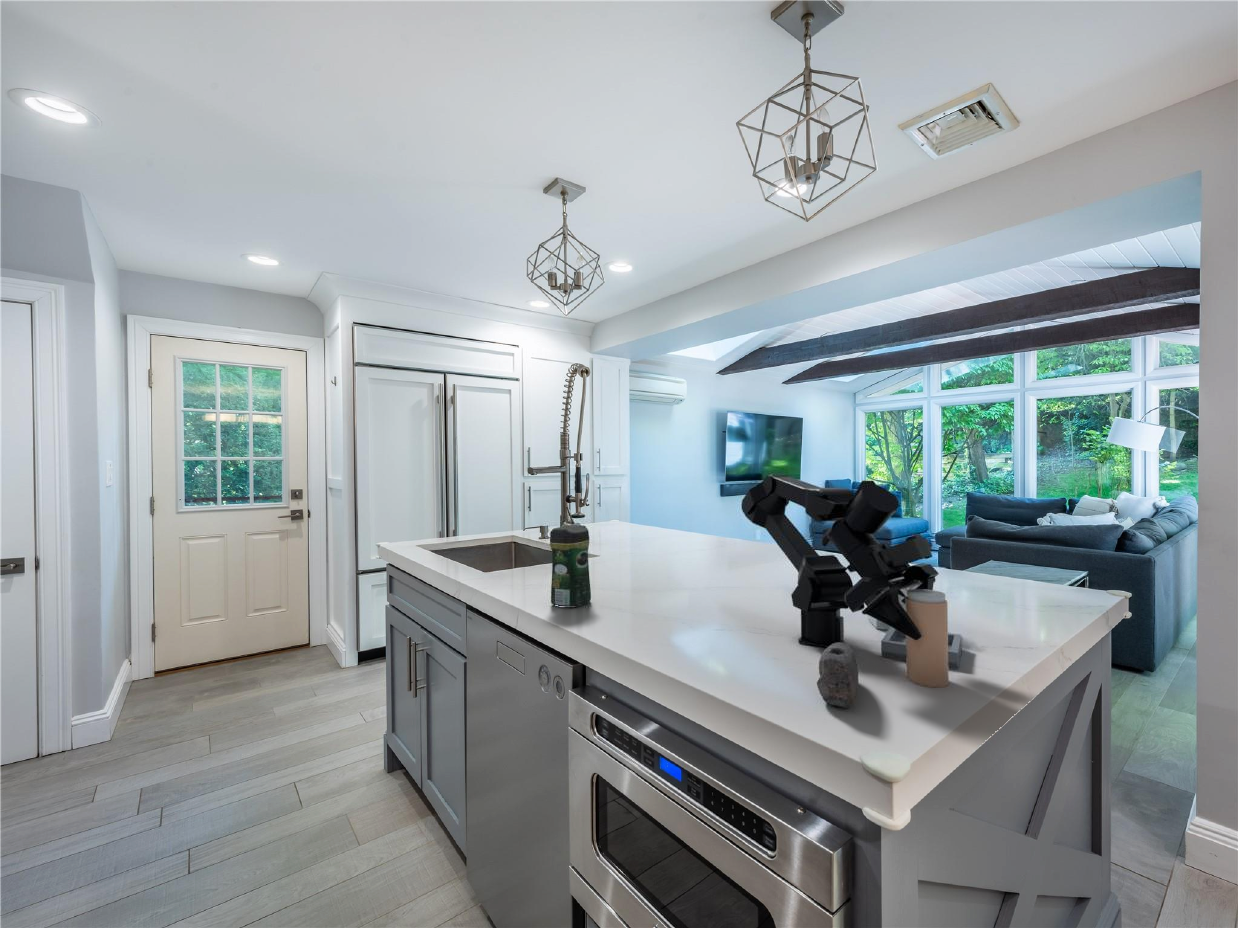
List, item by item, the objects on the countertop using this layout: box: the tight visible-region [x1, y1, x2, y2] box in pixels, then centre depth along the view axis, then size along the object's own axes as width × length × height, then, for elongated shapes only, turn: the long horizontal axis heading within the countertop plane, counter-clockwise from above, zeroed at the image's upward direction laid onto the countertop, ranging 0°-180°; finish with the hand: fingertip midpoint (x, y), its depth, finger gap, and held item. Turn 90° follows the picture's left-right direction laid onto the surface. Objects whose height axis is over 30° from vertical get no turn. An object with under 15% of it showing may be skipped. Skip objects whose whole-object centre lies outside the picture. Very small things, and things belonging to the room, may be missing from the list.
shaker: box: [905, 589, 950, 688], centre depth 83 cm, size 6×6×13 cm
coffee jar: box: [549, 524, 592, 607], centre depth 132 cm, size 10×8×19 cm
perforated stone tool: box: [816, 642, 859, 709], centre depth 79 cm, size 15×5×7 cm, turn 154°
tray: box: [880, 627, 963, 670], centre depth 95 cm, size 11×11×2 cm
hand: (932, 633), depth 83 cm, fingers open, 8 cm apart
